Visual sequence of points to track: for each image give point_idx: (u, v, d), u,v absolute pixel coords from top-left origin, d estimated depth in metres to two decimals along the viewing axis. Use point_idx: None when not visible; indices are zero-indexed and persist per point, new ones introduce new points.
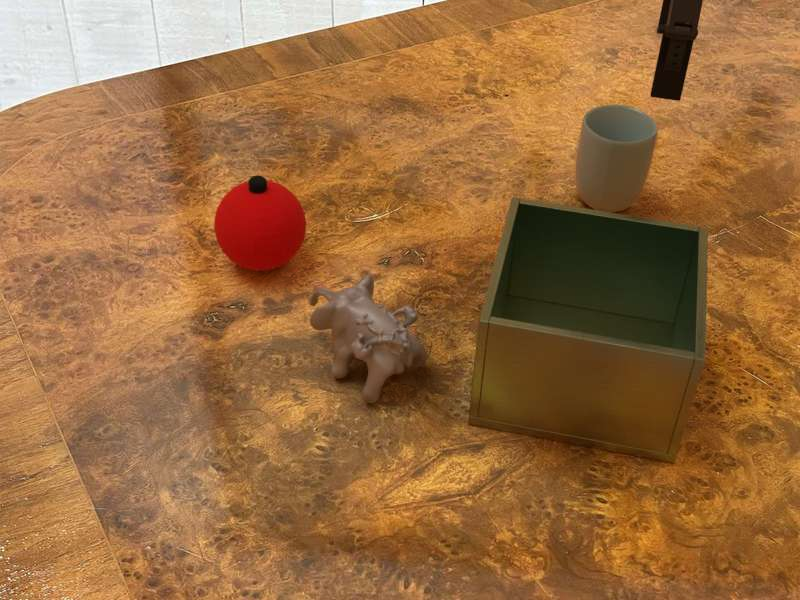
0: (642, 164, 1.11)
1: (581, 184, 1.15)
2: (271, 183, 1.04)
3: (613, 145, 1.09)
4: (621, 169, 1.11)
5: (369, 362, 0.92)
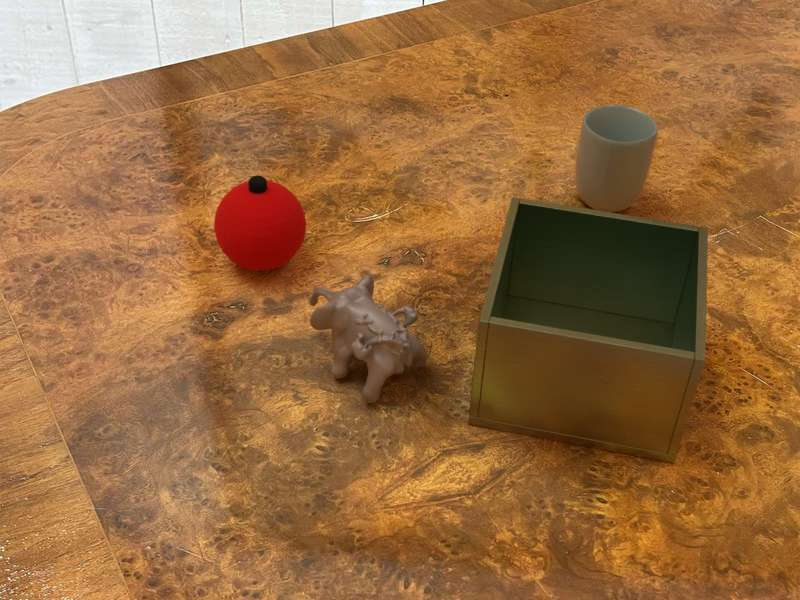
0: (642, 164, 1.11)
1: (581, 184, 1.15)
2: (271, 183, 1.04)
3: (613, 145, 1.09)
4: (621, 169, 1.11)
5: (369, 362, 0.92)
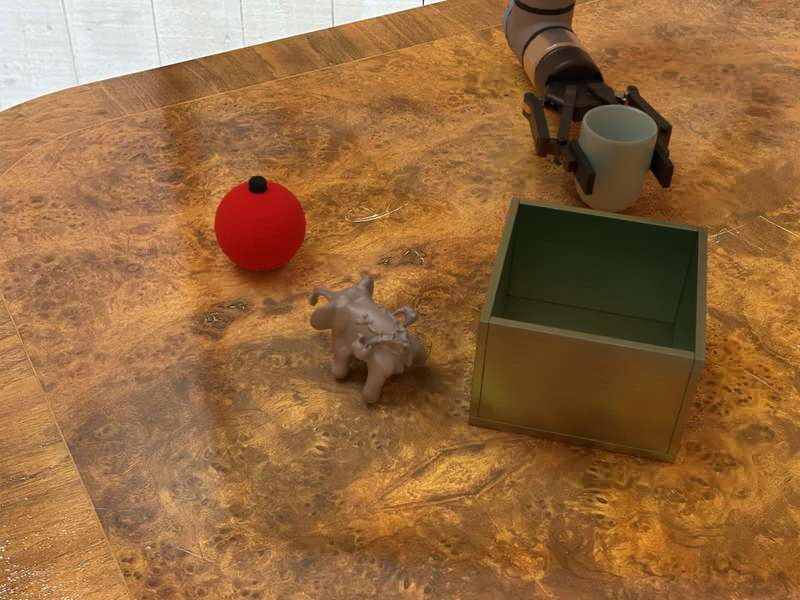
0: (642, 164, 1.11)
1: None
2: (271, 183, 1.04)
3: (613, 145, 1.09)
4: (621, 169, 1.11)
5: (369, 362, 0.92)
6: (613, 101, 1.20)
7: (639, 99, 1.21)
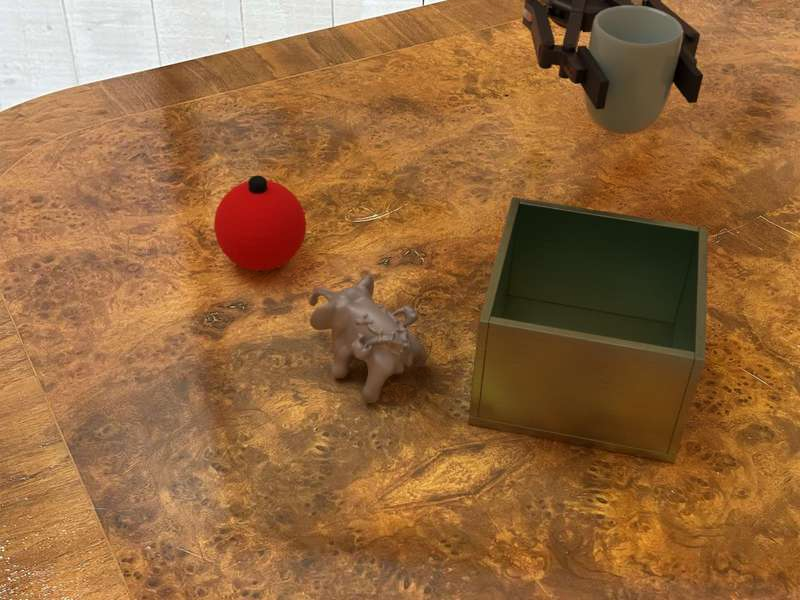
0: (665, 73, 0.93)
1: None
2: (271, 183, 1.04)
3: (630, 48, 0.91)
4: (639, 78, 0.93)
5: (369, 362, 0.92)
6: None
7: (660, 5, 1.03)
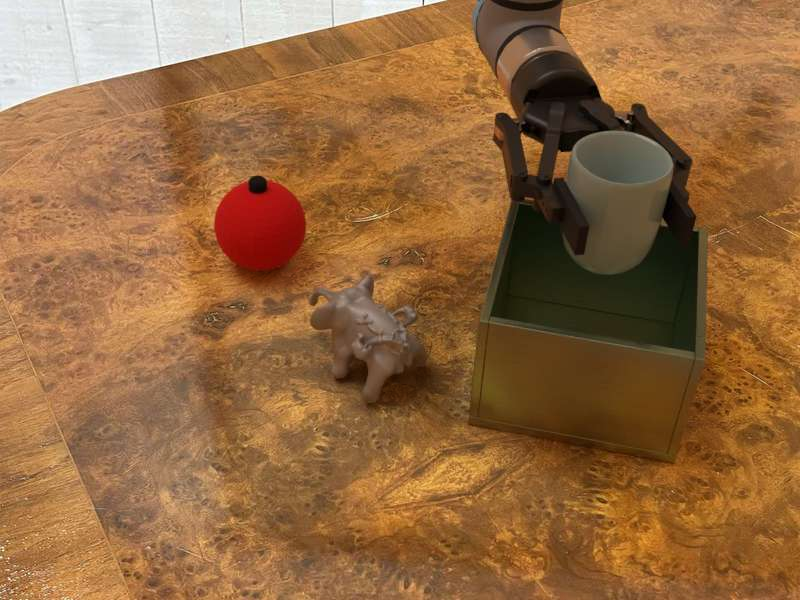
0: (653, 213, 0.82)
1: None
2: (271, 183, 1.04)
3: (613, 188, 0.79)
4: (624, 219, 0.81)
5: (369, 362, 0.92)
6: (613, 125, 0.90)
7: (647, 122, 0.92)
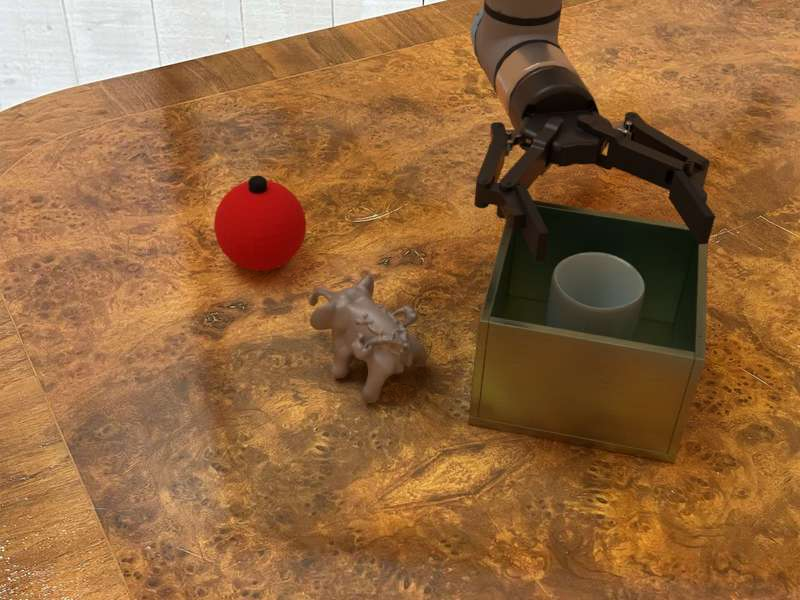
0: (626, 331, 0.90)
1: None
2: (271, 183, 1.04)
3: (590, 312, 0.88)
4: None
5: (369, 362, 0.92)
6: (618, 135, 0.92)
7: (649, 129, 0.93)
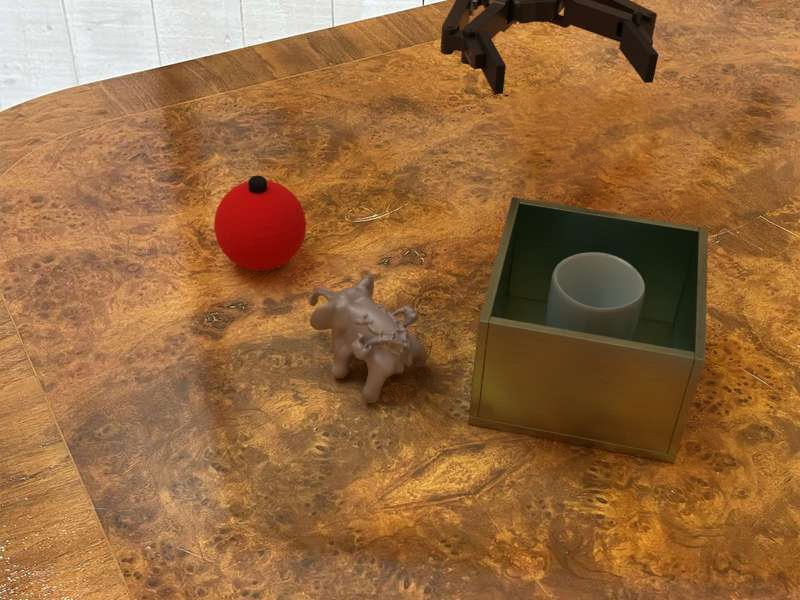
0: (626, 331, 0.90)
1: None
2: (271, 183, 1.04)
3: (590, 312, 0.88)
4: None
5: (369, 362, 0.92)
6: None
7: None
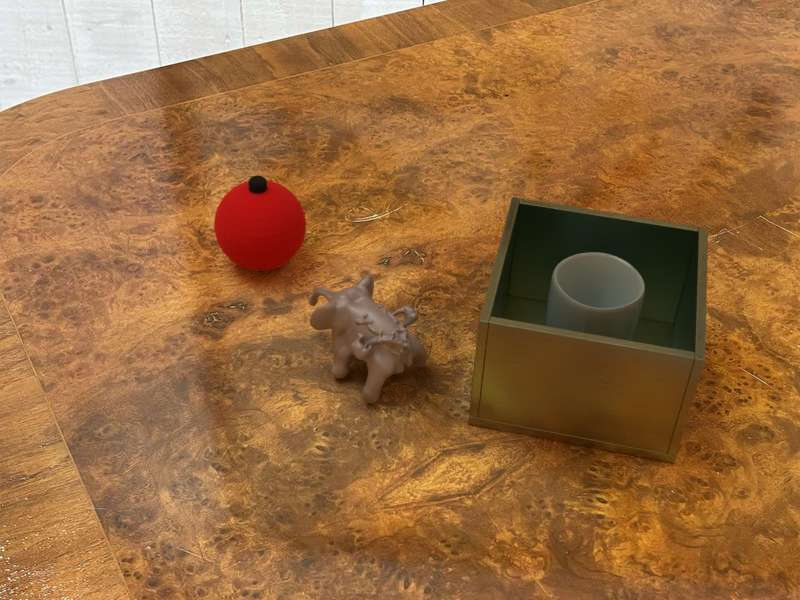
0: (626, 331, 0.90)
1: None
2: (271, 183, 1.04)
3: (590, 312, 0.88)
4: None
5: (369, 362, 0.92)
6: None
7: None
